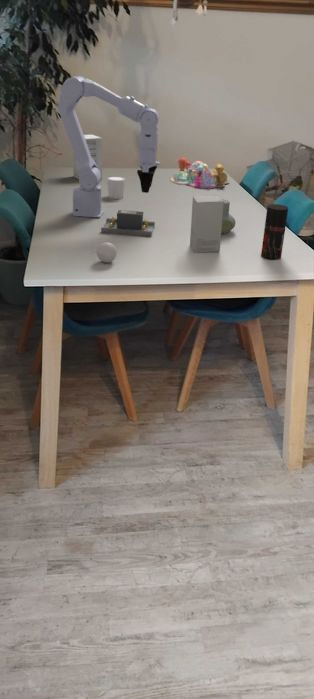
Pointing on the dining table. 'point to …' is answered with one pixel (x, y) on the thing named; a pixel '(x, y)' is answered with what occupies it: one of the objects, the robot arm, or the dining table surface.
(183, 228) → the dining table surface
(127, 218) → the block
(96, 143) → the supplement box
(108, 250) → the white sphere
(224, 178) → the candy landscape model
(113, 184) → the white tapered cup
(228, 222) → the air freshener
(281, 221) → the deodorant
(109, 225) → the tray
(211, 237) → the skincare box
